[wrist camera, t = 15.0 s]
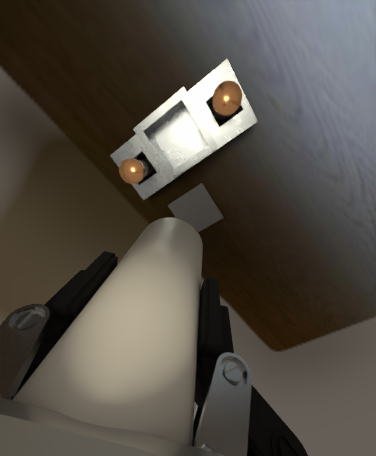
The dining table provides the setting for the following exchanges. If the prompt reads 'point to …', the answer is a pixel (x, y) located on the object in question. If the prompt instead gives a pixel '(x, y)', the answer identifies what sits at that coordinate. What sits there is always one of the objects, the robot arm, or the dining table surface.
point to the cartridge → (132, 342)
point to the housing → (184, 131)
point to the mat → (196, 208)
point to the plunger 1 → (135, 170)
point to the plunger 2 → (226, 99)
